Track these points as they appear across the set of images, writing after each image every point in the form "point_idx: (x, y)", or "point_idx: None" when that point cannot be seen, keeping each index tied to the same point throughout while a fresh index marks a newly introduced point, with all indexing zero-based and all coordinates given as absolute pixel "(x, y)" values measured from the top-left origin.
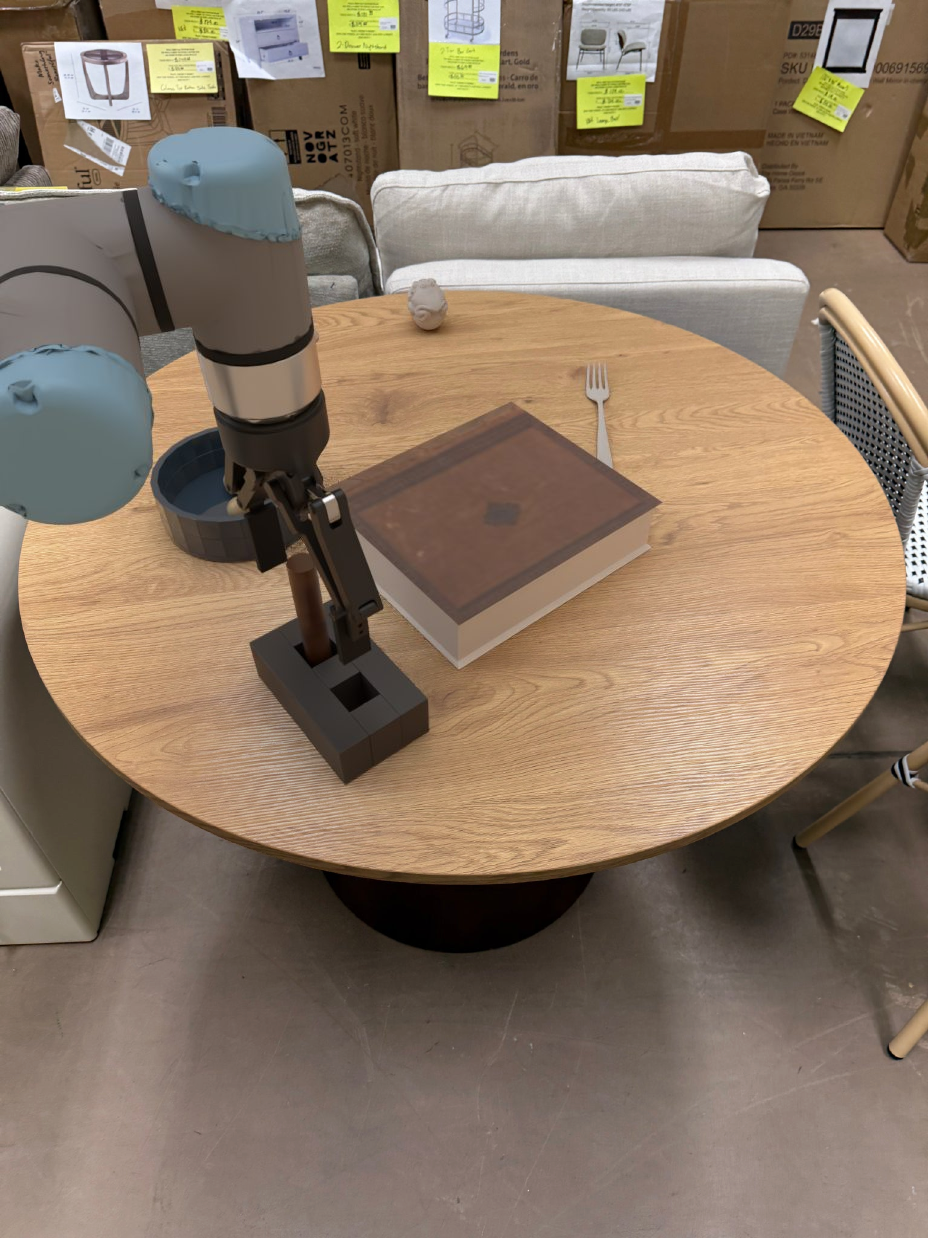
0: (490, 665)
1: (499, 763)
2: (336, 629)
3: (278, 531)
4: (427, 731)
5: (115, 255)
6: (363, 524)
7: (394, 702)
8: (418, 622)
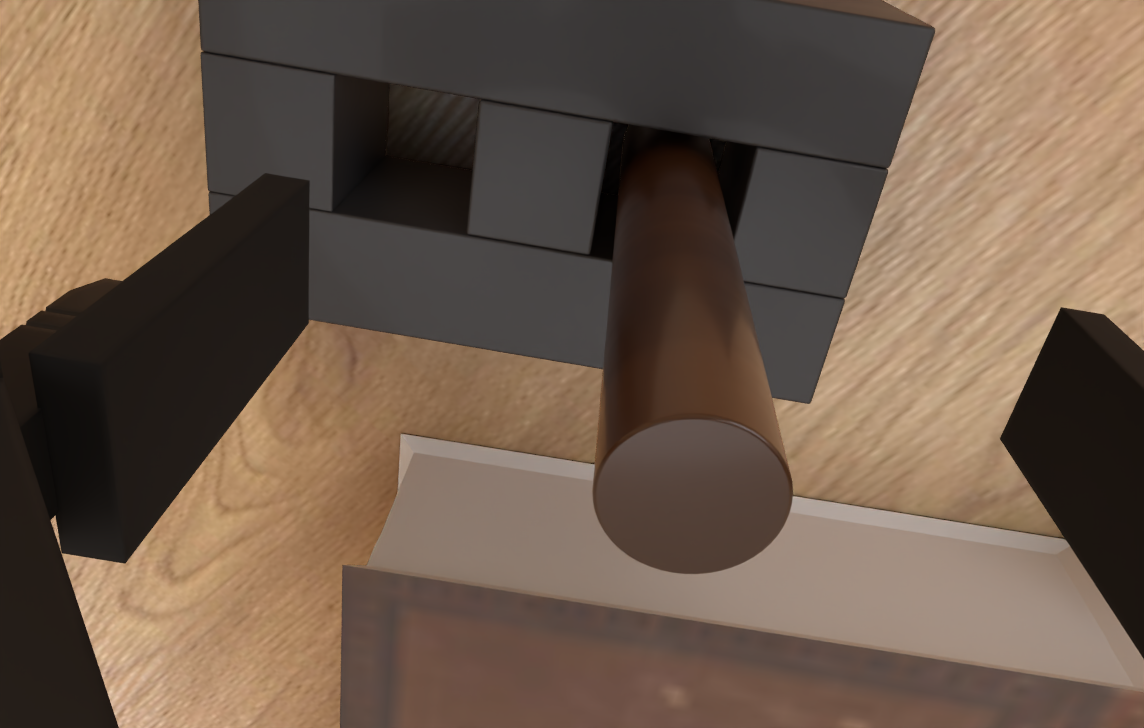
0: (356, 491)
1: (80, 282)
2: (155, 273)
3: (1098, 564)
4: None
5: None
6: (939, 688)
7: None
8: None
